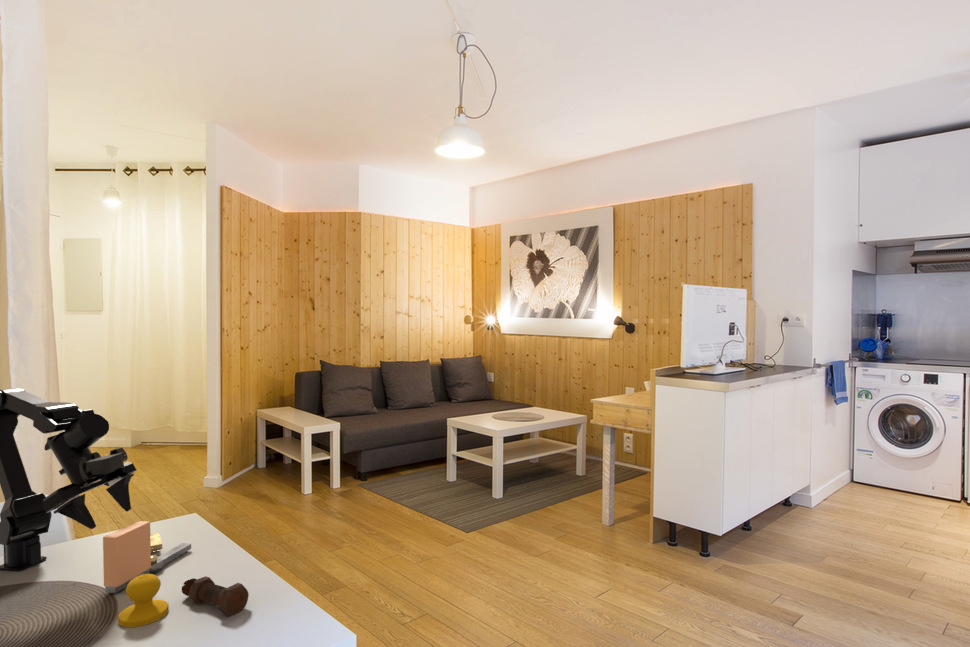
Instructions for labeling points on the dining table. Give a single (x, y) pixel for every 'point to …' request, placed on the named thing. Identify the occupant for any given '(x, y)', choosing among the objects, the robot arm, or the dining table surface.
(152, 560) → the pintle
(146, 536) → the peach block with bar
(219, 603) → the bolt
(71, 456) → the robot arm
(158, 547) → the keeper
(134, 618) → the doorknob
